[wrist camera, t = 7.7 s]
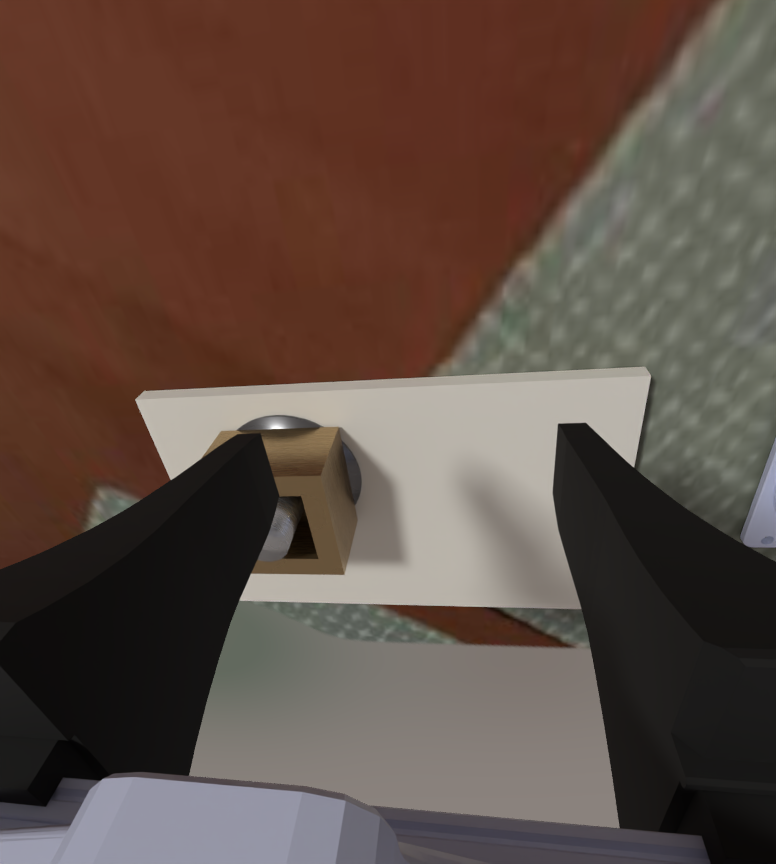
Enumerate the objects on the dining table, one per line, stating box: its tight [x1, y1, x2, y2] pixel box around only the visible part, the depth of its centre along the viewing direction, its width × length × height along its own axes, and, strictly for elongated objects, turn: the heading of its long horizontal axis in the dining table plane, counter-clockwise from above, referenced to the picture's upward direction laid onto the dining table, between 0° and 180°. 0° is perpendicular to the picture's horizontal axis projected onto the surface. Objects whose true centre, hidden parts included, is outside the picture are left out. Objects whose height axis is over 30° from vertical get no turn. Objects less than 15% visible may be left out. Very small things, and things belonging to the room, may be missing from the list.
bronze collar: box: [201, 427, 358, 575], centre depth 23 cm, size 6×6×4 cm
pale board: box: [135, 367, 651, 609], centre depth 25 cm, size 22×14×1 cm, turn 96°
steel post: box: [237, 415, 362, 562], centre depth 22 cm, size 7×7×4 cm
